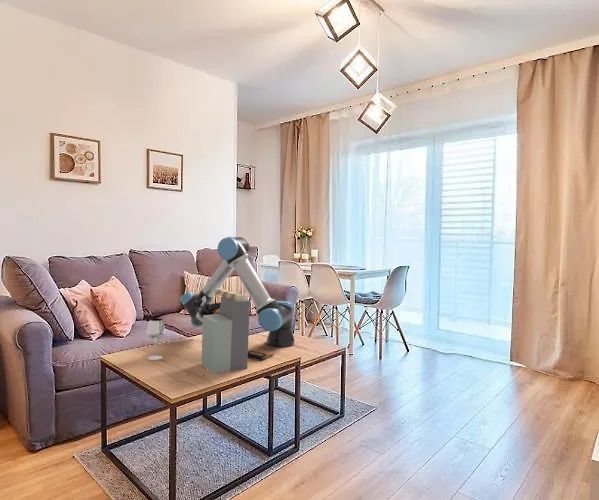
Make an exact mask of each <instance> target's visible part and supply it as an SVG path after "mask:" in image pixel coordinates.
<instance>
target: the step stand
mask: <svg viewBox="0 0 599 500" xmlns="http://www.w3.org/2000/svg"><path fill="white" fill-rule="evenodd" d="M219 301H220V302H219V303H220V311H219V314H217V313H214V314H213V315H203V326H202V338H201V362H200V363H201V365H202V367H204V368H205V369H206V370H207V371H208V372H209V373H211V375H214V374H220V373H225V372H226V373H227V372H233V371H240V370H245V369H246V370H247V369H248V351H249V335H250V334H249V331H250V329H249V328H250V327H249V326H250V306H251V302H250V300H248V299H245V297H243V301H235V300H232V299H229V298H226V297H223V296H220V300H219Z"/></svg>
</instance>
